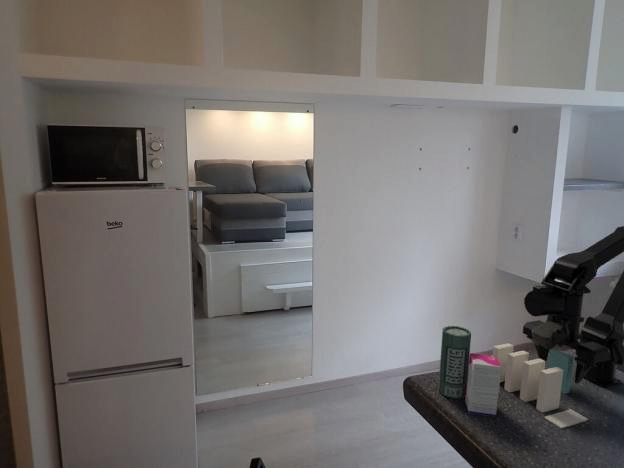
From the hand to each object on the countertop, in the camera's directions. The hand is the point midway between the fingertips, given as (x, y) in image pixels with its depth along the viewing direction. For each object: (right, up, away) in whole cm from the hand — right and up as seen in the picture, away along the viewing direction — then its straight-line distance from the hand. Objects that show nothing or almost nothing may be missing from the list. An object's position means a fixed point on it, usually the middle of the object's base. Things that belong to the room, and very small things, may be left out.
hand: (559, 373), depth 107 cm
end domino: (0, -4, +1) cm, 4 cm away
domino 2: (-11, -4, 0) cm, 11 cm away
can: (-26, -4, -2) cm, 27 cm away
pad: (-5, -6, -12) cm, 15 cm away
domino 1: (-12, -3, +4) cm, 13 cm away
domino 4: (-7, -5, -8) cm, 12 cm away
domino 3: (-9, -4, -4) cm, 11 cm away
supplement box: (-22, -5, -9) cm, 24 cm away
